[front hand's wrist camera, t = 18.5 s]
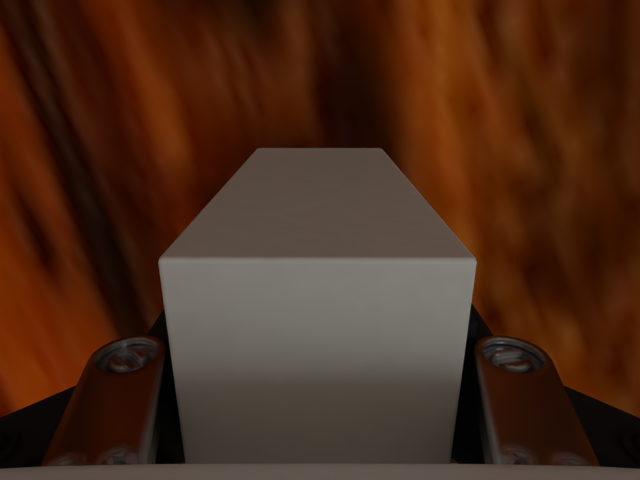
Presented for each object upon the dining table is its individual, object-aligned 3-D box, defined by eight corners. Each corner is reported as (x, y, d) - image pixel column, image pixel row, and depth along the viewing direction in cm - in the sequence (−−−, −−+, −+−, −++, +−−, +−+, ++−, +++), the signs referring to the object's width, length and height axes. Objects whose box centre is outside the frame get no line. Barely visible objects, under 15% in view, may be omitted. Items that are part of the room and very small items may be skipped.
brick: (265, 326, 17) (202, 606, 8) (256, 147, 15) (155, 258, 6) (373, 327, 17) (432, 607, 8) (382, 147, 15) (479, 259, 6)
